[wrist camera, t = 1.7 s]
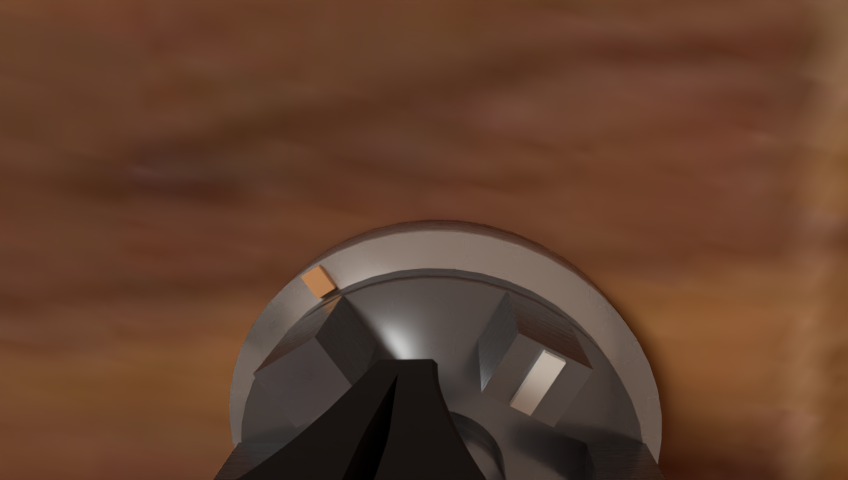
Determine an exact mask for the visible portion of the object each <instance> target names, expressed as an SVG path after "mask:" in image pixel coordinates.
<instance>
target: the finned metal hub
mask: <svg viewBox="0 0 848 480" xmlns="http://www.w3.org/2000/svg"><path fill="white" fill-rule="evenodd" d="M385 359H433V360H434V361H435V362H436V363H438V377H439V384H440V388H441V391H442V394H443V397H444V400H445V403H446V405H447V408H448V410H449V413H450V415H451V417H452V420H453V422H454V424H455V426H456V428H457V430H458V432H459V434H460V436H461V438H462V440H463V442H464V444H465V445H466V447H467V449H468V451H469V452H470V454H471V456H472V457H473V459H474V461H475V462H476V464H477V465H478V467H479V469H480V470H481V472H482V473H483V475H484V476H485V478H486V479H487V480H666V479H665V477H664V475H663V473H662V471H661V470H660V468H659V466H658V464H657V462H656V461H655V459H654V457H653V455H652V454H651V452H650V450H649V448H648V446H647V445H646V443H643V440H642V434H641V429H640V423H639V420H638V417H637V414H636V411H635V408H634V406H633V403H632V400H631V398H630V396H629V394H628V392H627V390H626V388H625V387H624V385H623V383H622V381H621V379H620V377H619V375H618V374H617V372H616V370H615V369H614V367H613V365H612V364H611V362H610V360H609V359H608V357H607V356H606V355H605V353H604V352H603V351H602V349H601V348H600V347H599V345H598V344H597V342H596V341H595V340H594V339H593V338H592V336H591V335H590V334H589V333H588V332H587V331H586V330H585V329H584V328H583V327H582V326H581V325H580V324H579V323H578V322H577V321H576V320H574V319H573V318H572V317H571V316H569V315H568V314H567V313H565V312H564V311H563V310H562V309H560V308H559V307H558V306H556V305H555V304H553V303H552V302H550V301H548V300H547V299H545V298H543V297H541V296H540V295H538V294H536V293H535V292H533V291H531V290H528V289H526V288H524V287H521V286H519V285H517V284H514V283H512V282H509V281H507V280H504V279H500V278H497V277H493V276H489V275H486V274H482V273H477V272H471V271H464V270H458V269H443V268H420V269H410V270H400V271H395V272H390V273H386V274H382V275H377V276H373V277H370V278H367V279H365V280H362V281H359V282H357V283H354V284H351V285H349V286H347V287H345V288H343V289H341V290H339V291H337V292H335V293H333V294H332V295H330V296H328V297H326V298H325V299H323V300H322V301H321V302H319V303H318V304H317V305H315V306H314V307H312V308H311V309H310V310H308V311H307V312H306V313H305V314H304V315H303V316H302V317H301V318H300V319H299V320H298V321H297V322H296V323H295V324H294V325H293V326H291V328H290V329H289V330H288V331H287V333H286V334H285V335H284V336H283V338H282V339H281V340H280V341H279V343H278V344H277V345H276V346H275V348H274V349H273V350H272V351H271V352H270V354H269V355H268V356H267V357H266V359H265V360H264V361H263V362H262V364H261V365H260V366H259V367H258V369H257V370H256V371H255V372H254V374H253V375H254V377H255V379H254V381H253V383H252V386H251V389H250V392H249V395H248V397H247V400H246V403H245V409H244V414H243V419H242V427H241V442H239V443H238V444H237V446H236V447H235V449H234V450H233V452H232V453H231V455H230V456H229V458H228V459H227V460H226V462H225V463H224V465H223V466H222V468H221V469H220V471H219V472H218V474H217V475H216V477H215V478H214V480H236V479H238V478H239V477H241V476H243V475H244V474H246V473H247V472H249V471H250V470H252V469H253V468H255V467H256V466H258V465H259V464H260V463H262V462H263V461H265V460H266V459H268V458H269V457H270V456H272V455H273V454H275V453H276V452H277V451H279V450H280V449H281V448H283V447H284V446H285V445H287V444H288V443H289V442H290V441H292V440H293V439H294V438H295V437H297V436H298V435H299V434H300V433H301V432H303V431H304V430H305V429H306V428H307V427H308V426H310V425H311V424H312V423H313V422H314V421H315V420H316V419H318V418H319V417H320V416H321V415H322V414H323V413H324V412H326V411H327V410H328V409H329V408H330V407H331V406H332V405H333V404H334V403H335V402H336V401H337V400H338V399H339V398H340V397H342V396H343V395H344V394H345V393H346V392H347V391H348V390H349V389H350V388H351V387H352V386H353V385H354V384H355V383H356V382H357V381H358V379H359V378H360V377H361V376H362V375H363V374H364V373H365V372H366V371H367V370H368V369H369V368H370V367H371V366H372V365H373V364H374V363H375V362H376V361H378V360H385Z"/></svg>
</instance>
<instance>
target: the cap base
mask: <svg viewBox="0 0 848 480" xmlns="http://www.w3.org/2000/svg"><path fill="white" fill-rule="evenodd" d="M420 268H443V269H458V270H464V271H471V272H477V273H482V274H486V275H489V276H493V277H497V278H500V279H504V280H507V281H509V282H512V283H514V284H517V285H519V286H521V287H524V288H526V289H528V290H531V291H533V292H535V293H536V294H538V295H540V296H541V297H543V298H545V299H547V300H548V301H550V302H552V303H553V304H555V305H556V306H558V307H559V308H560V309H562V310H563V311H564V312H565V313H567V314H568V315H569V316H571V317H572V318H573V319H574V320H576V321H577V322H578V323H579V324H580V325H581V326H582V327H583V328H584V329H585V330H586V331H587V332H588V333H589V334H590V335H591V336H592V338H593V339H594V340H595V341H596V342H597V344H598V345H599V347H600V348H601V349H602V351H603V352H604V353H605V355H606V356H607V357H608V359H609V360H610V362H611V364H612V365H613V367H614V369H615V370H616V372H617V374H618V375H619V377H620V379H621V381H622V383H623V385H624V387H625V388H626V390H627V392H628V394H629V396H630V398H631V400H632V403H633V406H634V408H635V411H636V414H637V417H638V420H639V423H640V429H641V434H642V440H643V443H646V445H647V446H648V448H649V450H650V452H651V454H652V455H653V457H654V459H655V461H656V462H657V464H658V459H659V453H660V447H661V441H662V414H661V407H660V401H659V395H658V389H657V386H656V383H655V380H654V377H653V373H652V370H651V367H650V364H649V362H648V360H647V358H646V356H645V354H644V352H643V350H642V348H641V346H640V344H639V342H638V340H637V339H636V337H635V336H634V334H633V333H632V332H631V330H630V329H629V327H628V326H627V325H626V323H625V322H624V320H623V319H622V318H621V316H620V315H619V314H618V312H617V311H616V310H615V309H614V307H613V306H612V305H611V303H610V302H609V301H608V300H607V298H606V297H605V296H604V294H603V293H602V292H601V291H600V290H599V289H598V288H597V287H596V286H595V285H594V284H593V283H592V282H591V281H590V280H589V279H588V278H587V277H586V276H585V275H584V274H583V273H582V272H581V271H579V270H578V269H577V268H575V267H574V266H573V265H572V264H570V263H569V262H568V261H567V260H565V259H564V258H563V257H561V256H559V255H558V254H556V253H554V252H553V251H551V250H549V249H548V248H546V247H544V246H542V245H541V244H539V243H537V242H534V241H532V240H530V239H527V238H525V237H523V236H520V235H518V234H516V233H513V232H510V231H506V230H503V229H499V228H496V227H492V226H489V225H485V224H478V223H472V222H465V221H458V220H421V221H412V222H403V223H397V224H393V225H389V226H385V227H381V228H377V229H373V230H370V231H368V232H365V233H362V234H360V235H357V236H355V237H352V238H350V239H347V240H346V241H344V242H342V243H340V244H338V245H337V246H335V247H333V248H331V249H329V250H328V251H326V252H324V253H323V254H322V255H320V256H319V257H318V258H316V259H315V260H314V261H312V262H311V263H310V264H308V265H307V266H306V267H305V268H304V269H303V270H302V271H301V272H300V273H299V274H298V275H296V276H295V277H294V278H293V279H292V280H291V281H290V282H289V283H288V284H287V285H286V286H285V287H284V288H283V289H282V290H281V291H280V292H279V293H278V294H277V295H276V296H275V297H274V298H273V299H272V300H271V301H270V302H269V303H268V305H267V306H266V308H265V309H264V310H263V312H262V313H261V314H260V316H259V317H258V319H257V320H256V321H255V323H254V324H253V326H252V328H251V330H250V332H249V334H248V335H247V337H246V339H245V341H244V343H243V345H242V347H241V350H240V353H239V356H238V359H237V362H236V365H235V368H234V372H233V378H232V384H231V390H230V413H229V417H230V425H231V433H232V440H233V444H234V448H235V447H236V446H237V444H238V443H239V442H241V427H242V419H243V414H244V409H245V403H246V400H247V397H248V395H249V392H250V389H251V386H252V383H253V381H254V379H255V377H254V375H253V374H254V372H255V371H256V370H257V369H258V367H259V366H260V365H261V364H262V362H263V361H264V360H265V359H266V357H267V356H268V355H269V354H270V352H271V351H272V350H273V349H274V348H275V346H276V345H277V344H278V343H279V341H280V340H281V339H282V338H283V336H284V335H285V334H286V333H287V331H288V330H289V329H290V328H291V326H293V325H294V324H295V323H296V322H297V321H298V320H299V319H300V318H301V317H302V316H303V315H304V314H305V313H306V312H307V311H308V310H310V309H311V308H312V307H314V306H315V305H317V304H318V303H319V302H321V301H322V300H323V299H325V298H326V297H328V296H330V295H332V294H333V293H335V292H337V291H339V290H341V289H343V288H345V287H347V286H349V285H351V284H354V283H357V282H359V281H362V280H365V279H367V278H370V277H373V276H377V275H382V274H386V273H390V272H395V271H400V270H410V269H420Z"/></svg>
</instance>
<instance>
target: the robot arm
mask: <svg viewBox="0 0 848 480" xmlns="http://www.w3.org/2000/svg"><path fill="white" fill-rule="evenodd" d="M236 480H487V479H486V478H485V476H484V475H483V473H482V472H481V470H480V469H479V467H478V465H477V464H476V462H475V461H474V459H473V457H472V456H471V454H470V452H469V451H468V449H467V447H466V445H465V444H464V442H463V440H462V438H461V436H460V434H459V432H458V430H457V428H456V426H455V424H454V422H453V420H452V417H451V415H450V413H449V410H448V408H447V405H446V403H445V400H444V397H443V394H442V391H441V388H440V384H439V377H438V363H436V362H435V361H434V360H433V359H385V360H378V361H376V362H375V363H374V364H373V365H372V366H371V367H370V368H369V369H368V370H367V371H366V372H365V373H364V374H363V375H362V376H361V377H360V378H359V379H358V381H357V382H356V383H355V384H354V385H353V386H352V387H351V388H350V389H349V390H348V391H347V392H346V393H345V394H344V395H343V396H342V397H340V398H339V399H338V400H337V401H336V402H335V403H334V404H333V405H332V406H331V407H330V408H329V409H328V410H327V411H326V412H324V413H323V414H322V415H321V416H320V417H319V418H318V419H316V420H315V421H314V422H313V423H312V424H311V425H310V426H308V427H307V428H306V429H305V430H304V431H303V432H301V433H300V434H299V435H298V436H297V437H295V438H294V439H293V440H292V441H290V442H289V443H288V444H287V445H285V446H284V447H283V448H281V449H280V450H279V451H277V452H276V453H275V454H273V455H272V456H270V457H269V458H268V459H266V460H265V461H263V462H262V463H260V464H259V465H258V466H256V467H255V468H253V469H252V470H250V471H249V472H247V473H246V474H244V475H243V476H241V477H239V478H238V479H236Z"/></svg>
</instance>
